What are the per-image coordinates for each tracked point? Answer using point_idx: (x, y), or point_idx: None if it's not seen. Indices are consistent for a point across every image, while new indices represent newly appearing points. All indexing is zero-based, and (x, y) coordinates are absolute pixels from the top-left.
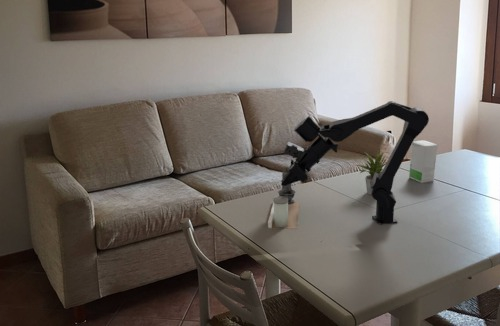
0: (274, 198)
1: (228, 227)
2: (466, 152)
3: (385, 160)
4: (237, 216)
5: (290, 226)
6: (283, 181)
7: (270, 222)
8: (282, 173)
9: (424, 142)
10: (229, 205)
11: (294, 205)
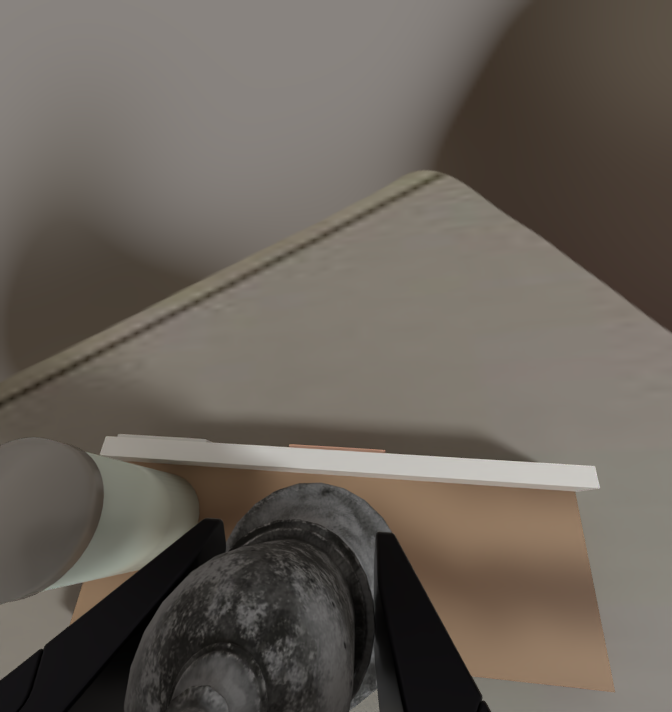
0: (33, 449)
1: (220, 274)
2: None
3: None
4: (347, 292)
5: (118, 584)
6: (153, 561)
7: (102, 449)
8: (232, 551)
9: None
10: (489, 246)
11: (518, 630)
